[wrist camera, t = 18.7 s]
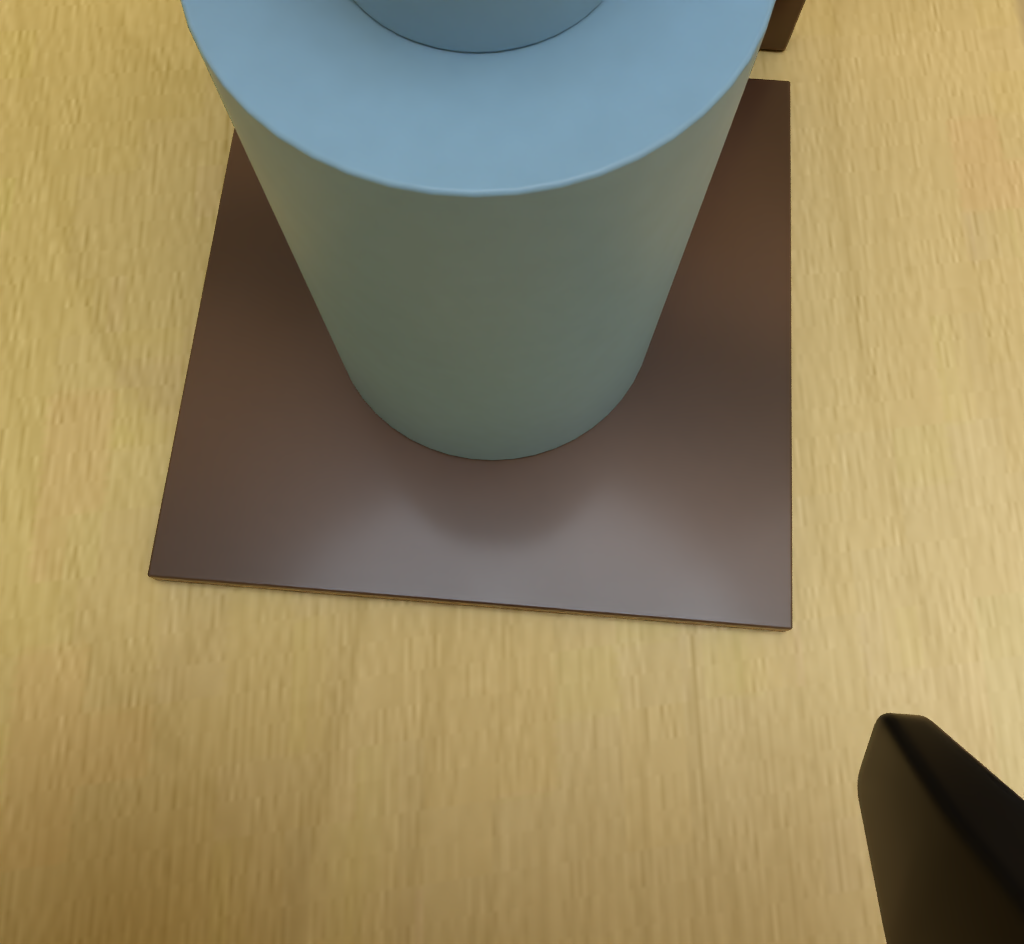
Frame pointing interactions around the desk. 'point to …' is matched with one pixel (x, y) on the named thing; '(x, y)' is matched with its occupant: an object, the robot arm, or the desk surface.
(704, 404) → the stand
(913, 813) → the robot arm
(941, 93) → the desk surface
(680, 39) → the bottle
